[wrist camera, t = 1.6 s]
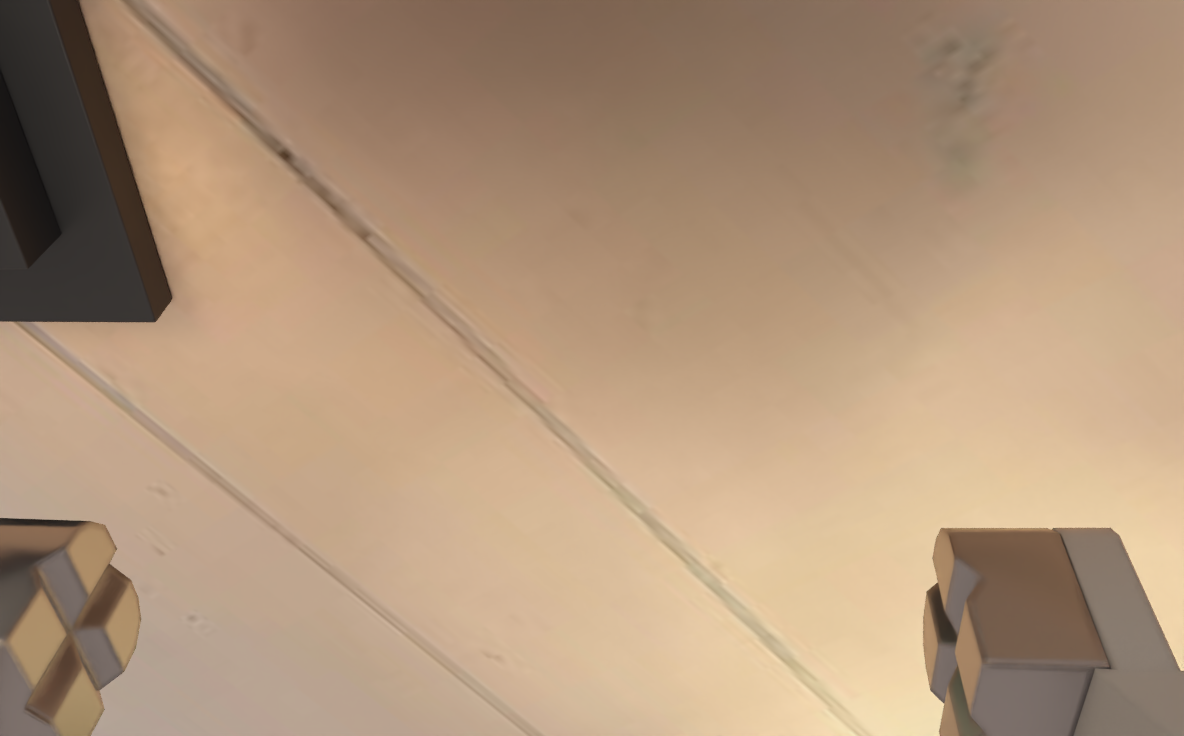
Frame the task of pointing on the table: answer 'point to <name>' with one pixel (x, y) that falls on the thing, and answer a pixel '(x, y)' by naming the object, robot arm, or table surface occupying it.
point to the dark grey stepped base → (66, 181)
